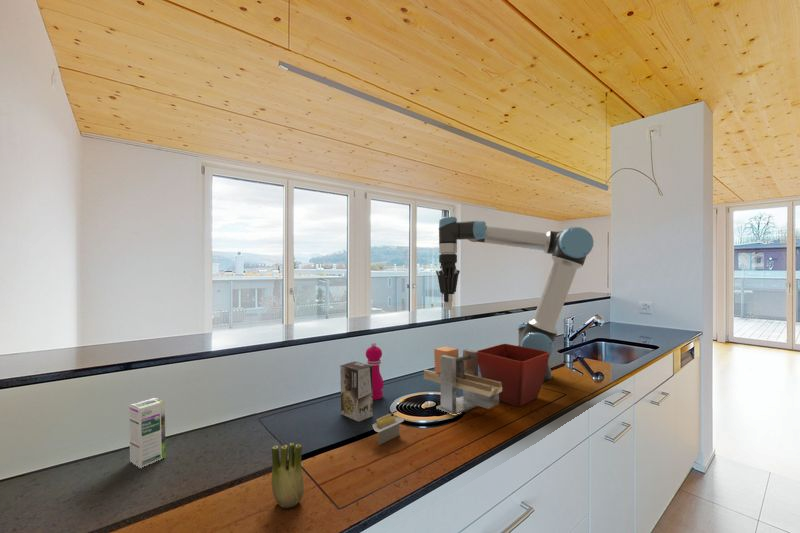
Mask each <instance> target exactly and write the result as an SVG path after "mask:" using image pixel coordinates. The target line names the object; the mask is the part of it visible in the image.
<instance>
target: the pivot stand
mask: <svg viewBox="0 0 800 533" xmlns="http://www.w3.org/2000/svg"><path fill="white" fill-rule="evenodd" d="M478 351H479V350H472V349H468V348H466V349H463V350H462V357H463V356H466V355H469V356H470V359H467V360H464V373H465V374H469V375H473V376H478V377H479V365H478ZM440 381H441V383H440V404H439V405H437V406H436V410H438V409H439V410H438V411H440V410H441V411H440V412H443V411H444V412H443V413H445V412H447V413H446V414H448V413H451V414H457V413H460V412H464V413H466V412H468V411H470V410H472V409H475V408H476V407H478V406H477V405H475V396H474V392H470V391H466V390H463V389H462V396H459V397H457V388H456V358H455V357H451V356H447V355H442V356H440Z"/></svg>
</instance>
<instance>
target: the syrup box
mask: <svg viewBox="0 0 800 533" xmlns="http://www.w3.org/2000/svg"><path fill="white" fill-rule="evenodd" d="M165 405H166V402H165V401H164V400H163V399H160V398H157V397H152V398H150V399H146V400H142V401H140V402H135V403H131V404H129V405H128V421H129V423H128V424H129V425H128V427H129V428H128V429H129V462H130V463H131V462H132V463H133V464H132V463H131V464H132V465H134V464H135V465H136V467H137V466H138V467H137V468H138V469H140V468H141V469H143V468H144V466H145V467H147V466H149V464H150V465H152V464H155V463H157V462H159V461H161V459H162V460H164V459H166V458H165V457H167V456H166V454H167V453H166V452H167V451H166V406H165ZM163 458H164V459H163ZM158 460H159V461H158ZM156 461H157V462H156ZM135 465H134V466H135ZM142 467H143V468H142Z"/></svg>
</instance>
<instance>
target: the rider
mask: <svg viewBox="0 0 800 533" xmlns="http://www.w3.org/2000/svg"><path fill="white" fill-rule="evenodd" d="M433 352H434V354H433V355H434V367H435V372H437V373H440V356H442V355H447V356H451V357H455V358H459V355H460V354H459V348H456V347H451V346H446V345H445V346H442V347H437V348H434V349H433Z"/></svg>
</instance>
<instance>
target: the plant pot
mask: <svg viewBox="0 0 800 533" xmlns="http://www.w3.org/2000/svg"><path fill="white" fill-rule="evenodd" d="M477 351H478V370H479V372H480V377H482V378H486V379H490V380H495V381H499V382H502V392H500V393H499V402H503V403H506V404H508V405H512V406H515V407H522V406H523V405H526V404H527V403H529V402H532V401H533V400H535V399H538V397H539V395H540V392H541V389H542V386H543V383H544V377H545V374H546V370H547V365H548V363H549V359H550V358H549V352H547V351H541V350H536V349H531V348H526V347H521V346H519V345H514V344H509V343H500V344H498V345H495V346H490V347H486V348H483V349H479V350H477Z"/></svg>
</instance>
